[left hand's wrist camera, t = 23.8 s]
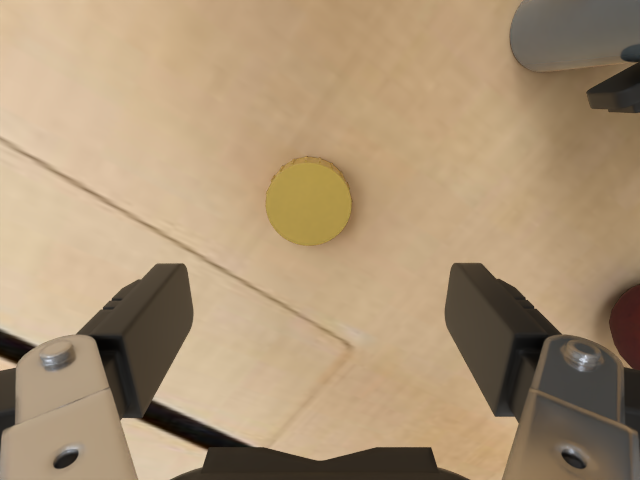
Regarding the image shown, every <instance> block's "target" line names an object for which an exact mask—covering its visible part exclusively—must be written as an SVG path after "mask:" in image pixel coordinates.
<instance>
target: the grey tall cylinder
mask: <svg viewBox="0 0 640 480" xmlns="http://www.w3.org/2000/svg"><path fill="white" fill-rule="evenodd" d="M510 44H511V48H512V51H513V54H514V56H515V58H516V59H517V60H518V62H519V63H520V64H521V65H522V66H524V67H525V68H527V69H529V70H531V71H535V72H552V71H561V70H570V69H579V68H588V67H597V66H606V65H615V64H624V63H633V62H640V0H523V1H522V2H521V4H520V6H519V7H518V9H517V11H516V13H515V15H514V18H513V20H512V24H511V29H510Z"/></svg>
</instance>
